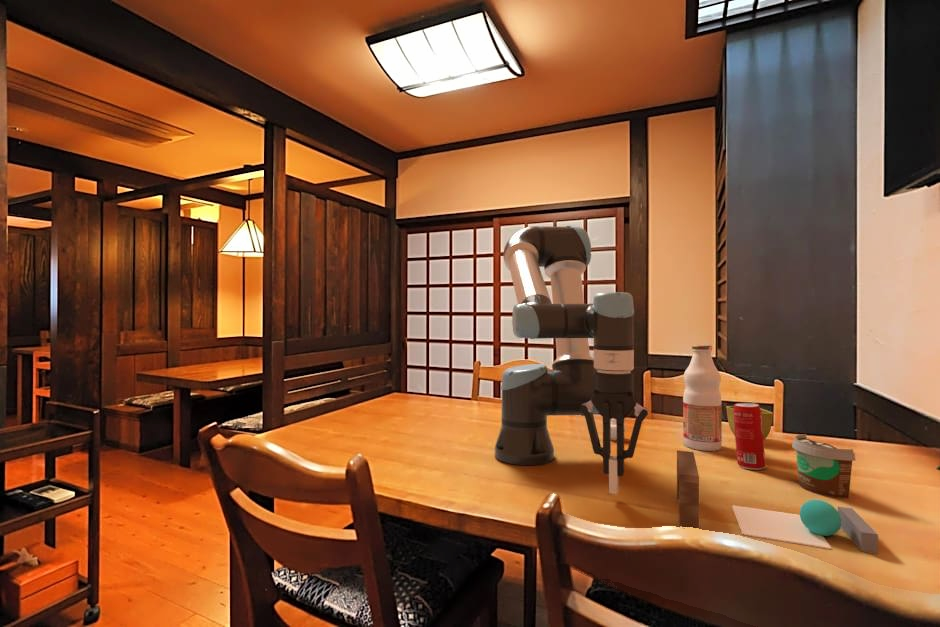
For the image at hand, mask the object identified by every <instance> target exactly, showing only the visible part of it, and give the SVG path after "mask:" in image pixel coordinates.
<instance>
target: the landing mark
mask: <svg viewBox="0 0 940 627" xmlns="http://www.w3.org/2000/svg"><path fill="white" fill-rule="evenodd" d="M731 507H732V510H733V512H734V515H735V518H736V521H737V523H738V526H739V530H740V532H741V535H742V536H747V535H748V536H749V537H754V538H758V539H759V538H761V539H765V538H766V539H765V540H773V541H778V542H779V541H780V542H785V543H789V544H790V543H791V544H795V545H796V544H797V545H802V546H810V547H814V548H815V547H816V548H822V549H827V550H832V549H833V548H832V546H831V545H830V544H829V542H828V541H827V540H826V538H825V537H824V536H822V535H818V534H815V533H813V532H812V531H810V530H809V529H808V528H806V527H805V525H804V524H803V523H802V521H801V518H800V514H795V513H790V512H781V511H775V510H768V509H767V510H766V509H763V508H762V509H761V508H755V507H754V508H753V507H747V506H738V505H733V504H731ZM743 534H744V535H743Z"/></svg>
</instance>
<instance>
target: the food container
mask: <svg viewBox="0 0 940 627" xmlns="http://www.w3.org/2000/svg"><path fill="white" fill-rule="evenodd" d="M791 447H792V449H794V450H795V452H796V453H795V454H796V455H795V456H796V465H797V472H798V473H797V475H798V484H799V486H800V487H801V488H802V489H804V490H805V491H807V492H810V493H813V494H816V495H820V496H825V497H829V498H835V499H836V498H837V499H849V497H850V488H851V478H852V468H853V461H856V456H855V452H854V449H852V448H851V449H850V448H837V447H835V446H833V445H831V444H829V443H825V442H819V441H815V440H813V439H809V438H807V434H806V433H805V434H804V433H802V434H797V435H795V437H794V438H793V441H792V445H791Z"/></svg>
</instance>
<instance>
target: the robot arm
mask: <svg viewBox="0 0 940 627" xmlns="http://www.w3.org/2000/svg"><path fill="white" fill-rule="evenodd" d="M502 253H503V254H502V255H503V256H502V257H503V261H504V265H505V267H506V269H507V270H509V271H510V276H511V279H512V280H511V281H512V284H513V289H514V292H515V296H516V301H517V303H516V304H515V305H514V306H513V309H512V316H511V317H512V320H511V322H512V324H511V325H512V332H513V335H514V336H515V337H516V338H519V339H530V340H535V339H538V340H539V339H555V346H556V347H555V349H556V359H555V360H554V361H553V362H552V363H551V364H552V365H551V367H552V368H551V369H548V367H547V365H546V364H543V363H535V364H534V363H531V364H530V363H529V364H523V365H522V364H521V365H515V366H511V367H509V368H506V369H505V370H504V371H503V372H502V374H501V384H500V390H501V416H500V417H501V425H500V426H501V427H500V429H499V432H498V436H497V439H496V442H495V445H494V457H495V458H496V459H497V460H498V461H500V462H503V463H506V464H510V465H517V466H536V465H537V466H539V465H544V464H547V463H550V462H552V461H553V460H554V457H555V450H554V445H553V442H552V439H551V437H550V434H549V430H548V422H547V420H548V419H547V418H548V416H581V417H584V418H585V421H586V426H587V431H588V434H589V438H590V444H591V447H592V451H593V453H594V455H599V456H600V457H602V462H603V465H602V467H603V468H602V469H603V471H602V472H603V474H604V475H608V494H613V495H618V492H619V477H623V476H624V473H625V460H626V459H632V458H633V457H634V454H635V450H636V448H637V447H636V446H637V442H638V440H639V439H638V438H639V436H640V432H641V427H642V424H643V422H644V420H645V419H646V418H647V416H648V414H649V408H647V407H645V406H644V407H643V406H642V405H640V404H639V403H637V402H638V401H637V398H636V397H635V391H634V390H635V389H634V388H635V382H634V381H635V375H634V374H633V372H632V371H633V370H634V369H635V367H634V366H635V364H634V360H635V359H634V358H635V356H634V355H635V350H634V342H635V341H634V337H635V334H634V330H635V328H634V326H635V325H634V321H635V320H634V318H635V316H634V315H635V308H634V297H633V295H632V294H631V293H630V292H622V291H621V292H619V291H618V292H615V291H614V292H598V293H596V294H594V296H593V301H592V303H585V298H584V290H583V281H582V275H583V274H584V273H585V271H586V270H587V267H588V266H589V265H590V262H591V259H592V244H591V240H590V236H589V234H588V232H587V231H586V229H584V228H582V227H580V226H572V225H566V226H538V225H535V226H534V225H533V226H527V227H525V228H522V229H519V230H518V231H516V232H515V233H514V234H512V236H510V238H509V239H508V240H507V241H506V243H505V246H504V250H503V252H502ZM540 268H544V269H543V270H544V274H545V276H546V277H548V278H550V286H551V298H550V294H549V290H548V288H547V285H546V283H545V280H544V277H543V274H542V271H541V269H540ZM589 339H593V357H592V355H591V352H590V346H589V345H590V344H589ZM633 409H634V413H633V414H634V416H635V421H634V425H633V428H632V431H631V436H630V439H629V443H628V447H627V449H625V432H624V425H625V419H626V418H627V417H628V416H629V415H630V413H631V412H632V411H633ZM598 414H599V415H600V416H601V418H602V445H601V441H600V437H599V433H598V429H597V426H596V421H595V418H594V415H598ZM612 418H614V419H616V424H617V440H616V455H611V452H612V450H611V444H612V443H611V419H612Z"/></svg>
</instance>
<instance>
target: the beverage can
mask: <svg viewBox="0 0 940 627" xmlns="http://www.w3.org/2000/svg"><path fill="white" fill-rule="evenodd" d="M733 406H734V409H733V413H734V426H735V436H734V438H735V449H736V450H735V451H736V452H735V453H736V460H737V461H736V462H737V463H736V464H737V465H738V467H740V468H741V469H746V470H752V471H753V470H756V471H760V470H764V469H765V468H766V466H767V465H766V456H765V454H766V453H765V442H764V441H765V440H763V427H762V415H761V409H762V408H761V407H760V404H758V403H753V402H736V403H734V405H733ZM760 408H761V409H760Z"/></svg>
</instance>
